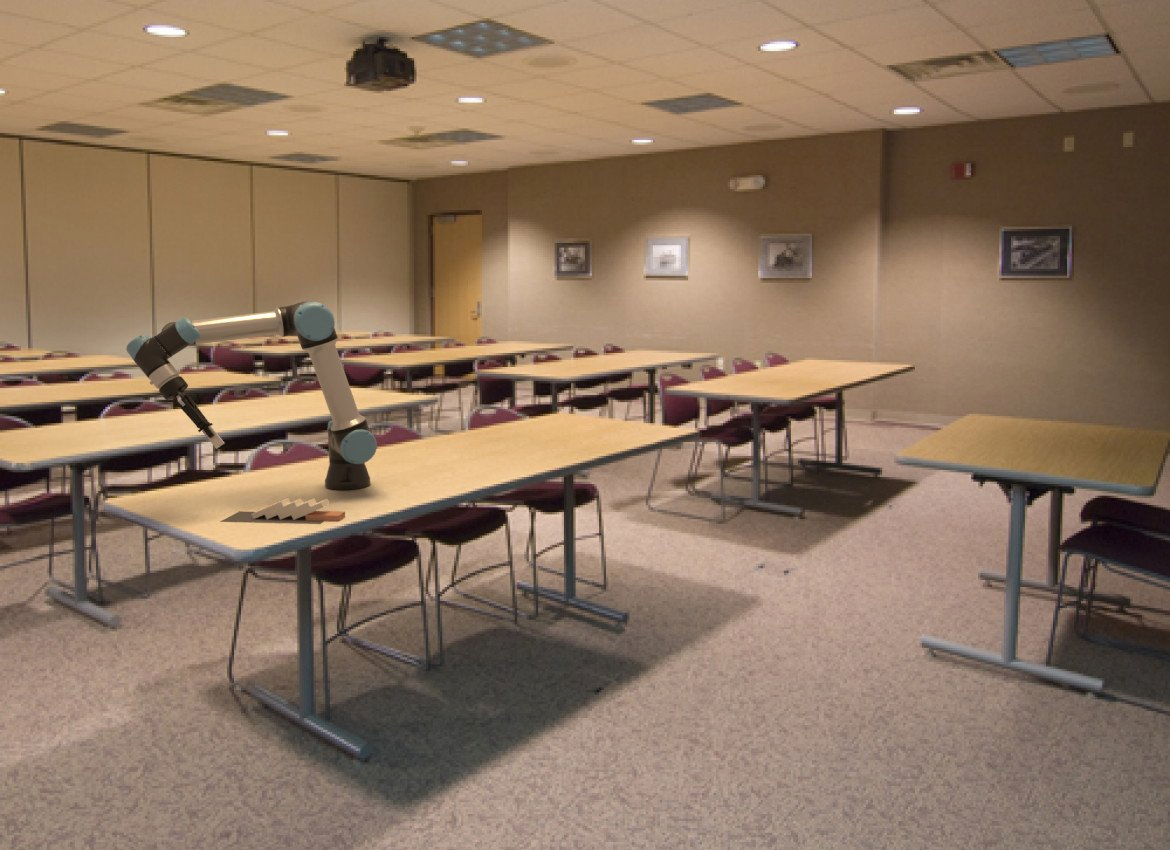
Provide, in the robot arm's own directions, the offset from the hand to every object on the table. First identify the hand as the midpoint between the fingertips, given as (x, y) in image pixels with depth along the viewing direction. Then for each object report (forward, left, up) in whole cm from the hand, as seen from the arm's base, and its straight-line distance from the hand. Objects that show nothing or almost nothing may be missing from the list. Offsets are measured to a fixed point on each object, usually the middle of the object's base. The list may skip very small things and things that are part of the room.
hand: (220, 445), depth 268 cm
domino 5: (-11, +25, -20) cm, 34 cm away
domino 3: (-7, +18, -20) cm, 28 cm away
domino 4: (-9, +22, -20) cm, 31 cm away
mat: (-6, +17, -21) cm, 28 cm away
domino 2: (-5, +15, -20) cm, 25 cm away
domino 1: (-3, +11, -20) cm, 23 cm away
